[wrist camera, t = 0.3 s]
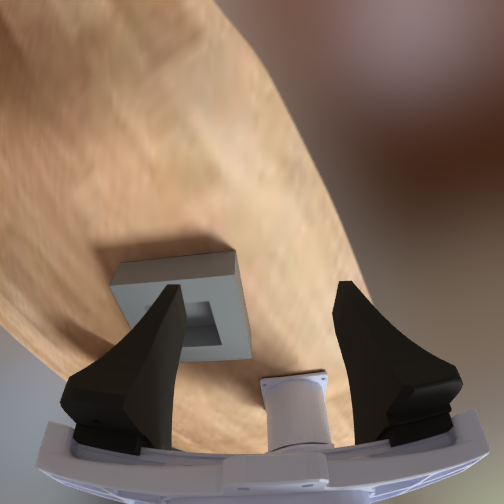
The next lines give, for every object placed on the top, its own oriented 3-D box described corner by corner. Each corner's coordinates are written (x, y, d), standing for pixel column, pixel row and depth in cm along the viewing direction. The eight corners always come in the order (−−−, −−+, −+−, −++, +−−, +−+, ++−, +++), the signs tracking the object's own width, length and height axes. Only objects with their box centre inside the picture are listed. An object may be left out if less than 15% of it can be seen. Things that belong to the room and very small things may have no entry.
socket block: (251, 334, 30) (251, 358, 28) (155, 339, 31) (149, 362, 28) (235, 250, 25) (234, 274, 22) (120, 262, 25) (109, 285, 23)
